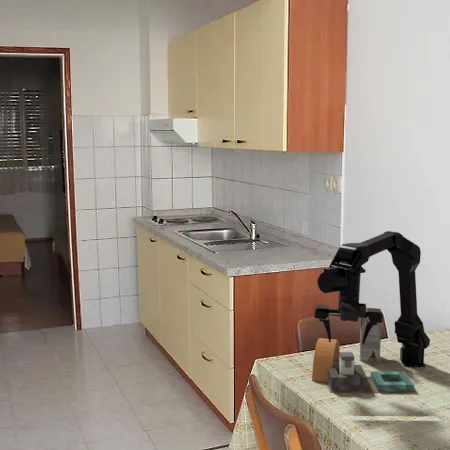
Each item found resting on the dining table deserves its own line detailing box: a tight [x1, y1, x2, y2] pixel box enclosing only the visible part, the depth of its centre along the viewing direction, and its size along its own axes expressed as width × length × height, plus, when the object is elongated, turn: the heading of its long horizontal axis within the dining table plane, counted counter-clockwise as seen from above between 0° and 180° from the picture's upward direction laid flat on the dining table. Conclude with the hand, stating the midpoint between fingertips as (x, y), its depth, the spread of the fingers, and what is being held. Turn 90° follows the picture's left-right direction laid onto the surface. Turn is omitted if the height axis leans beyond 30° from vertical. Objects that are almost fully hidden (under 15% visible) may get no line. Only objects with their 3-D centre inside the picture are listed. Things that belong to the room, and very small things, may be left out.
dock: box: [325, 364, 417, 394], centre depth 179 cm, size 24×12×5 cm, turn 89°
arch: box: [311, 337, 341, 383], centre depth 190 cm, size 6×20×10 cm, turn 162°
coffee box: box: [359, 307, 382, 363], centre depth 201 cm, size 9×6×16 cm
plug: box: [338, 351, 355, 375], centre depth 178 cm, size 4×4×9 cm
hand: (346, 343), depth 177 cm, fingers open, 9 cm apart
